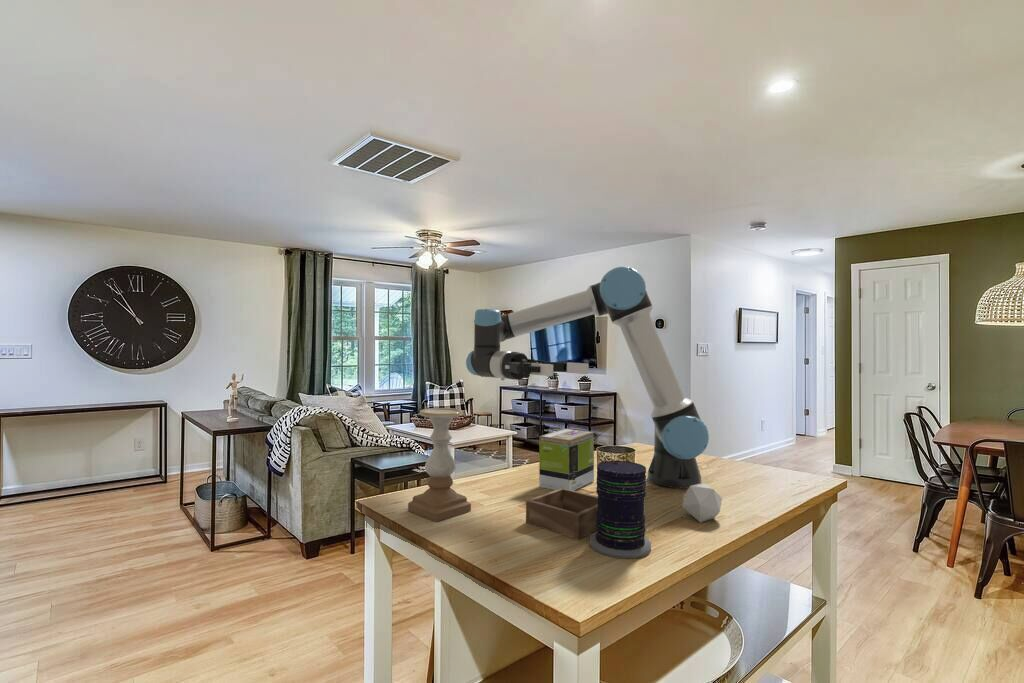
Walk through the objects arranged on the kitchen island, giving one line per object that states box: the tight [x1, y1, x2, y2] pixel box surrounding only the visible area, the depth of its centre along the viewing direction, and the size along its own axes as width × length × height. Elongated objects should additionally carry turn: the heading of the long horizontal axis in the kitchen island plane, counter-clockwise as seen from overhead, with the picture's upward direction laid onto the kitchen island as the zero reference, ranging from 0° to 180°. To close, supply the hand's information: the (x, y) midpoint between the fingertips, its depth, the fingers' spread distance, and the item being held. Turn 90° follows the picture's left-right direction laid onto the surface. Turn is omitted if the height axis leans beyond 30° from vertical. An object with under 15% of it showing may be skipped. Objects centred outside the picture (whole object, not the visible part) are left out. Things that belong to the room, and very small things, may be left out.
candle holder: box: [407, 407, 472, 523], centre depth 122 cm, size 11×11×24 cm
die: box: [682, 482, 723, 523], centre depth 121 cm, size 8×9×10 cm
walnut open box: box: [525, 488, 598, 540], centre depth 116 cm, size 14×14×5 cm
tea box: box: [538, 428, 595, 491], centre depth 147 cm, size 15×10×15 cm
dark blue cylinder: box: [595, 460, 647, 551], centre depth 103 cm, size 10×10×15 cm
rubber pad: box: [589, 531, 652, 560], centre depth 103 cm, size 12×12×1 cm
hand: (570, 369), depth 126 cm, fingers open, 13 cm apart
